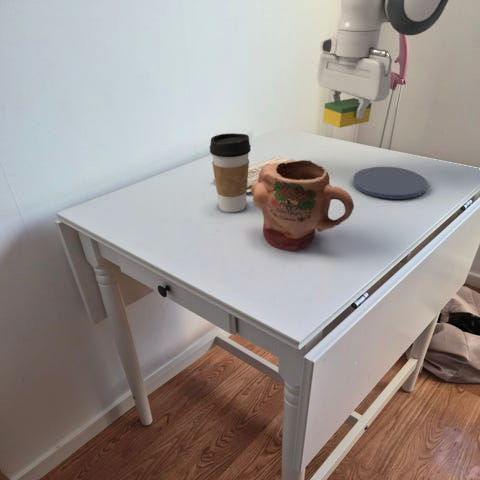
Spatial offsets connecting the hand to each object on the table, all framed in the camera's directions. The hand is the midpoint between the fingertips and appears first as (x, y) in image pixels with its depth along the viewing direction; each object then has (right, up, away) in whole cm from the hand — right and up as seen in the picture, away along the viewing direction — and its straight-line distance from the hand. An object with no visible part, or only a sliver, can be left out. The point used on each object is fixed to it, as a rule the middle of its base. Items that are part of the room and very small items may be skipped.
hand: (347, 114), depth 100 cm
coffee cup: (-27, -23, -5) cm, 36 cm away
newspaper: (-19, -13, +7) cm, 24 cm away
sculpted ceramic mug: (-14, -33, -17) cm, 40 cm away
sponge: (0, -1, +1) cm, 2 cm away
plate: (+10, -16, +1) cm, 19 cm away
